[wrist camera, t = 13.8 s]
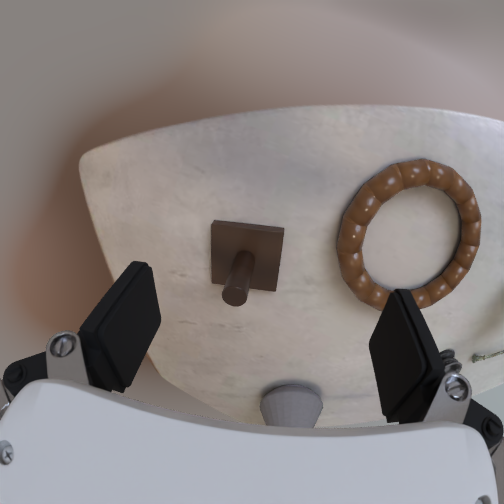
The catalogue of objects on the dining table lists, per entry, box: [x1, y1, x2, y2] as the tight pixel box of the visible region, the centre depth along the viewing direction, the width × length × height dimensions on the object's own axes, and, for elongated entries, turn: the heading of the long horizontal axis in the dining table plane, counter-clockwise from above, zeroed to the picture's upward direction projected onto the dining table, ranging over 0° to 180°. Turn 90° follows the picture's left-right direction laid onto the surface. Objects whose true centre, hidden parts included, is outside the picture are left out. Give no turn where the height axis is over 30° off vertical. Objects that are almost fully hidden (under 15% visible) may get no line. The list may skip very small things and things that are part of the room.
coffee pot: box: [260, 385, 323, 428], centre depth 39 cm, size 21×12×15 cm, turn 94°
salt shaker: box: [440, 350, 462, 374], centre depth 33 cm, size 6×6×12 cm
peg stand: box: [211, 220, 284, 306], centre depth 29 cm, size 8×8×8 cm
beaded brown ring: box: [337, 159, 481, 311], centre depth 28 cm, size 20×20×3 cm
